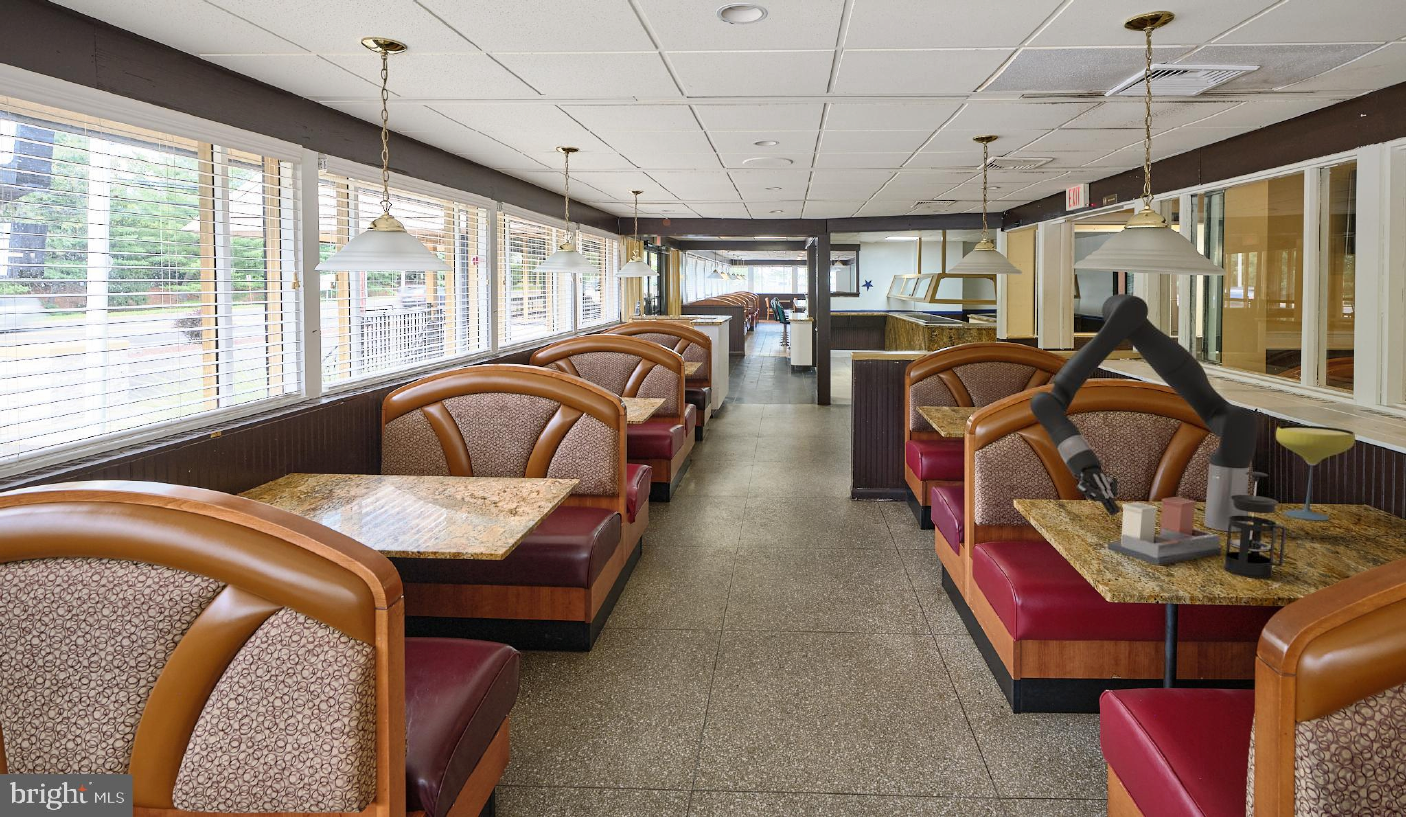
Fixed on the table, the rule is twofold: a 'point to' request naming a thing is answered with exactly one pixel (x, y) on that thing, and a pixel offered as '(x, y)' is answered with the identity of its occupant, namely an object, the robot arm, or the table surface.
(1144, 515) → the white tall block
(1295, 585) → the table surface
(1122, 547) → the dark grey tray
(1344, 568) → the table surface
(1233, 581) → the table surface
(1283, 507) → the table surface
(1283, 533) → the french press
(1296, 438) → the cocktail glass
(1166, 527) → the pink boxy piece
